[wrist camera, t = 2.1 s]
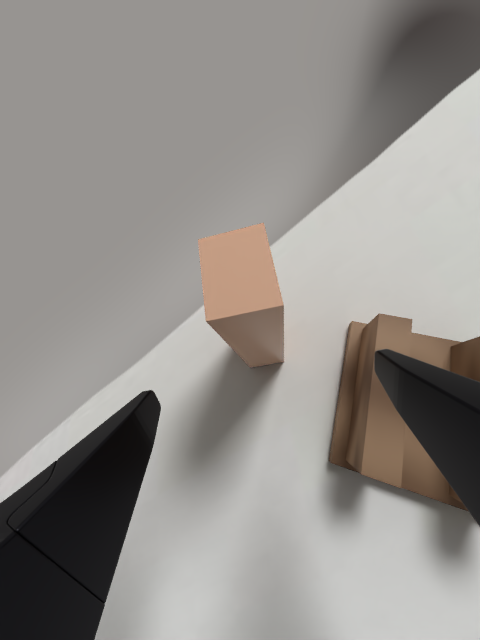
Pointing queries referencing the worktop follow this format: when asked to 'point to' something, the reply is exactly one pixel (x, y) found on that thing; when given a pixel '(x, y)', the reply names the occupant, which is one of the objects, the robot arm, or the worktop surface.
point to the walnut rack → (392, 407)
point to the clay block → (243, 294)
